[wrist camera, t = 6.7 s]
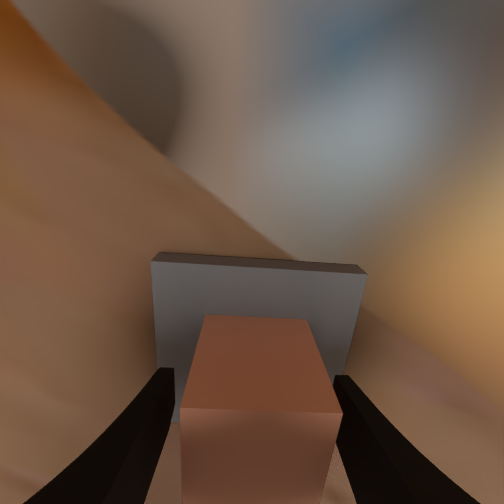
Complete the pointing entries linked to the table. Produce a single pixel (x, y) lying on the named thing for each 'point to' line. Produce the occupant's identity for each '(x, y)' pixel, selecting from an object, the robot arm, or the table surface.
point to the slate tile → (251, 303)
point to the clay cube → (257, 414)
